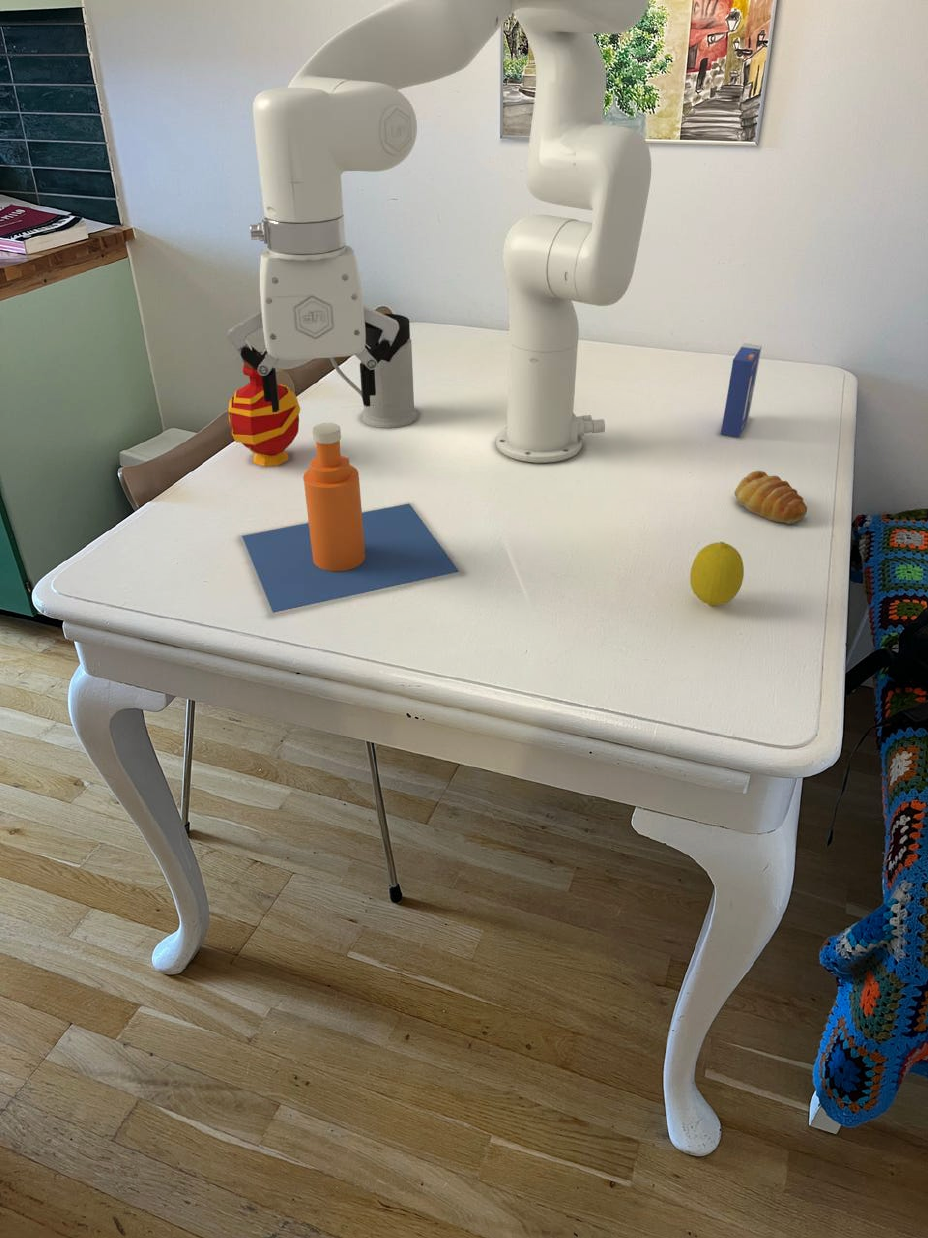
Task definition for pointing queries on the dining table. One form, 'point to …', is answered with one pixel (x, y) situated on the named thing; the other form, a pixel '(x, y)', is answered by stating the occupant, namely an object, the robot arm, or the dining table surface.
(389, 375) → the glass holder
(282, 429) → the potion bottle
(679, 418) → the dining table surface
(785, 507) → the pastry
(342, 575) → the cloth
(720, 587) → the lemon
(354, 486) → the bottle
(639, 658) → the dining table surface
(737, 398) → the walkman
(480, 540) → the dining table surface
